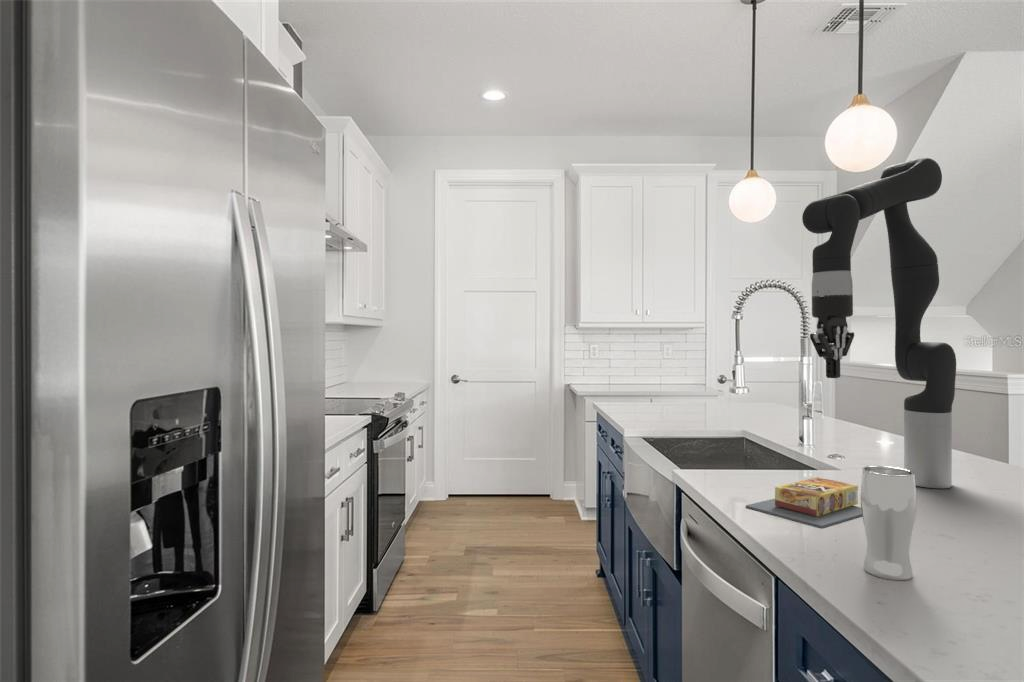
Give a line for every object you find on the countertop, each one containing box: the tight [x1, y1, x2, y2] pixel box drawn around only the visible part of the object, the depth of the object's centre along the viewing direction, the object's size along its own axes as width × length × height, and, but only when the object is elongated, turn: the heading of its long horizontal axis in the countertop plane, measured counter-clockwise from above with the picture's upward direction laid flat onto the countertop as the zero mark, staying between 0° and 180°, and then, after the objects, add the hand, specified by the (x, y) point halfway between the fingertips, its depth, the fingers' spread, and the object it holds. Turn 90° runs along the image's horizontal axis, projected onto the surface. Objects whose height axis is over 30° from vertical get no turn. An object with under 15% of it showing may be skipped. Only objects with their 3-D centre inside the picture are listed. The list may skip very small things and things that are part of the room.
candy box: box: [774, 476, 859, 517], centre depth 123 cm, size 9×4×15 cm
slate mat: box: [745, 498, 863, 529], centre depth 121 cm, size 18×16×1 cm
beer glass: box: [860, 465, 917, 581], centre depth 89 cm, size 7×7×15 cm
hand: (833, 377), depth 126 cm, fingers closed
